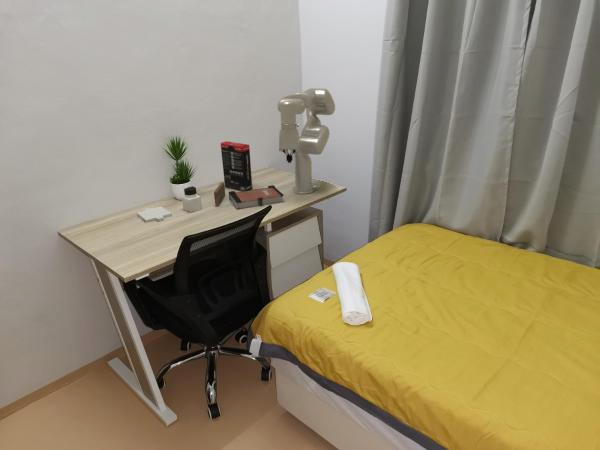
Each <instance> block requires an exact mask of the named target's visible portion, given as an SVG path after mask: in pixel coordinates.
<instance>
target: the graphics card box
mask: <svg viewBox="0 0 600 450" xmlns="http://www.w3.org/2000/svg"><path fill="white" fill-rule="evenodd" d="M250 149H251V148H250V144H246V143H239V142H235V141H234V142H233V141H223V142H220V153H221V163H222V172H223V179H224V181H223V182H224V186H225V188H229V189H233V190H236V191H237V190H238V191H239V192H242V191H248V190H253V178H252V166H251V151H250Z"/></svg>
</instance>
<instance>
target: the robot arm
mask: <svg viewBox="0 0 600 450" xmlns="http://www.w3.org/2000/svg"><path fill="white" fill-rule="evenodd" d="M277 110H278V112H279V113H280V129H279V133H278V135H279V137H278V152H281V153H284V155H285V157H286V158H285V159H286V162H287V164H292V162H293V158H294V177H295V178H294V181H295V182H294V183H295V184H294V185H295V186H294V187H293V188H292V192H293V193H294V194H298V195H299V194H300V195H306V194H312V193H314V191H315V189H320V184H318V183H315V184H314V183H313V181H312V178H313V177H312V159H311V156H310V155H316V156H317V155H318V156H319V155H321V154H323V151H324V150H325V147H326V145H327V143H328V141H329V137H330V128H329V127H328V126H326V125H324V124H322V122H321V120H320V118H319V117H318V116H317V115H320V116H331V115H333V114H334V113H335V111H336V104H335V101H334V99H333V96H332V94H331V92H330V91H329V90H328V89H326V88H308V89H306V90H304V91H302V92H298V93H294V94H293V93H292V94H289V95H285V96H283V97H281V98H279V100H278V103H277ZM304 112H305V113H306V121H305V124H304V126H303V128H302V130H301V132H300V134H299V129H298V128H299V127H300V126H299V125H300V124H298V123H297V115H302V114H303V113H304ZM289 150H290V153H289ZM293 155H294V156H293Z"/></svg>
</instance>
